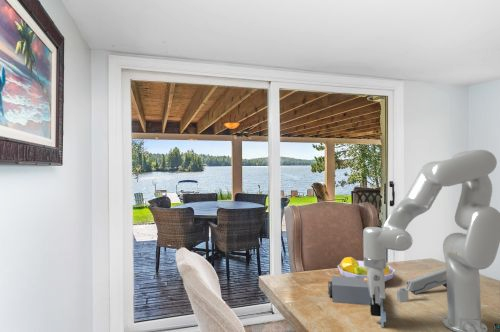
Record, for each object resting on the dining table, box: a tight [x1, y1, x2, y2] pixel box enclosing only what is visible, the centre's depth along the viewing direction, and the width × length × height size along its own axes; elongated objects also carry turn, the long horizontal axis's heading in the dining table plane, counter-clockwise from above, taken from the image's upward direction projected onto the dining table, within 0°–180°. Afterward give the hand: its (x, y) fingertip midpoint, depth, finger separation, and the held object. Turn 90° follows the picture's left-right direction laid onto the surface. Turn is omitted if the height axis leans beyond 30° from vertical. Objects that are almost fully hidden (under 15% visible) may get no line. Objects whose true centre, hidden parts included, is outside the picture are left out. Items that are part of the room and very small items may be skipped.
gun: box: [406, 267, 447, 295], centre depth 139 cm, size 2×25×10 cm, turn 99°
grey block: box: [327, 275, 371, 306], centre depth 133 cm, size 12×21×8 cm, turn 75°
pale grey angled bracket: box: [396, 279, 414, 303], centre depth 130 cm, size 7×2×8 cm, turn 100°
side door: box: [379, 295, 387, 328], centre depth 116 cm, size 2×19×7 cm, turn 159°
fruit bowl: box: [337, 256, 396, 282], centre depth 156 cm, size 28×27×11 cm
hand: (375, 314), depth 111 cm, fingers closed
